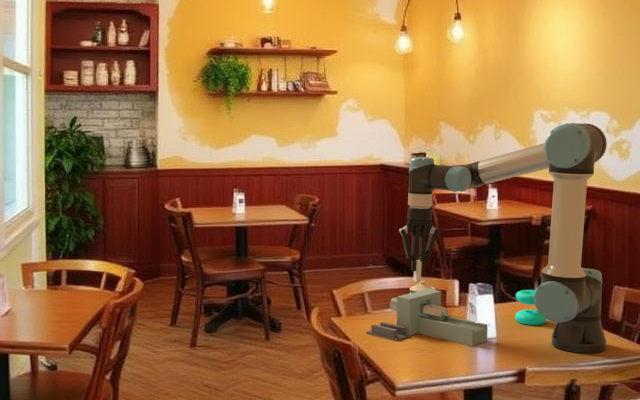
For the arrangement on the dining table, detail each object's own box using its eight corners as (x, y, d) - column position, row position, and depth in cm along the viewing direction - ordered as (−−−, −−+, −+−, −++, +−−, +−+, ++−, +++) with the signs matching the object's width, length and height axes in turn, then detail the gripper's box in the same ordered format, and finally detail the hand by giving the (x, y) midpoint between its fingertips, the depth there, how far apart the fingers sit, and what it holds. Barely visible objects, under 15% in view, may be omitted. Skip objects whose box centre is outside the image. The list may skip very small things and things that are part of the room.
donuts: (522, 287, 256) (552, 291, 250) (522, 316, 257) (551, 321, 251) (510, 292, 248) (540, 296, 242) (510, 322, 249) (539, 327, 243)
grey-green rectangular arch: (440, 326, 245) (441, 291, 244) (409, 335, 234) (409, 299, 233) (428, 323, 249) (428, 288, 247) (396, 332, 237) (397, 296, 236)
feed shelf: (487, 340, 228) (487, 324, 228) (472, 346, 222) (472, 329, 222) (433, 328, 242) (433, 312, 242) (417, 333, 237) (417, 317, 236)
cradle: (411, 336, 233) (411, 327, 232) (396, 341, 228) (396, 332, 228) (381, 329, 241) (381, 320, 241) (366, 333, 236) (366, 324, 236)
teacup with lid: (434, 318, 254) (435, 284, 253) (407, 317, 256) (407, 283, 255) (437, 310, 266) (438, 277, 265) (411, 309, 268) (411, 276, 267)
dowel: (446, 322, 236) (449, 308, 236) (438, 320, 233) (441, 306, 233) (396, 311, 250) (399, 298, 250) (388, 309, 247) (391, 296, 247)
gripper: (435, 205, 243) (432, 277, 245) (396, 205, 240) (393, 279, 242) (444, 208, 235) (441, 283, 238) (404, 208, 232) (401, 284, 235)
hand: (417, 280), depth 240 cm, fingers closed
